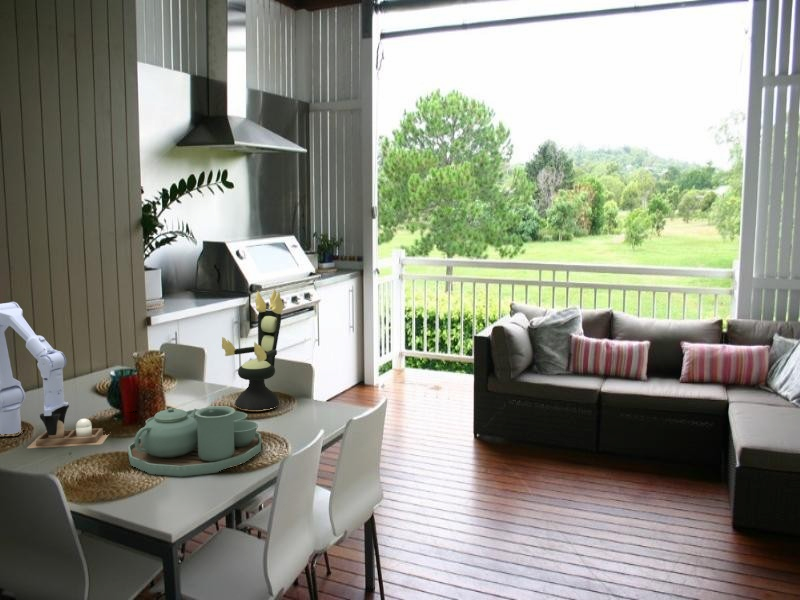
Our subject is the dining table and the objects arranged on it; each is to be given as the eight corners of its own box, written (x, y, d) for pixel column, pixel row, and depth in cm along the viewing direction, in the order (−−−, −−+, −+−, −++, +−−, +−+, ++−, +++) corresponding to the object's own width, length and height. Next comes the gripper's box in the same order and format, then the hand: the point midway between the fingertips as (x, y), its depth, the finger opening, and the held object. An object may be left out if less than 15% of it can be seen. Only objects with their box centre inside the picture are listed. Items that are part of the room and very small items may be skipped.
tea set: (282, 439, 219) (282, 390, 217) (218, 485, 181) (216, 427, 179) (178, 427, 230) (177, 381, 228) (96, 469, 192) (94, 414, 190)
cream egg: (74, 441, 212) (73, 421, 212) (78, 436, 217) (77, 417, 216) (90, 440, 213) (89, 420, 212) (93, 436, 218) (92, 416, 217)
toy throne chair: (221, 408, 252) (218, 291, 246) (262, 395, 271) (260, 286, 265) (257, 417, 242) (255, 295, 236) (297, 403, 261) (296, 289, 255)
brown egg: (46, 443, 211) (45, 422, 210) (51, 438, 215) (50, 418, 214) (62, 442, 212) (61, 421, 211) (66, 437, 216) (65, 417, 215)
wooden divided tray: (26, 450, 206) (26, 442, 206) (40, 436, 218) (39, 429, 218) (101, 446, 210) (101, 438, 210) (111, 433, 223) (110, 426, 222)
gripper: (60, 395, 205) (62, 437, 207) (73, 384, 219) (75, 423, 221) (35, 396, 204) (38, 439, 205) (50, 384, 218) (52, 424, 219)
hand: (55, 431), depth 213 cm, fingers open, 7 cm apart
